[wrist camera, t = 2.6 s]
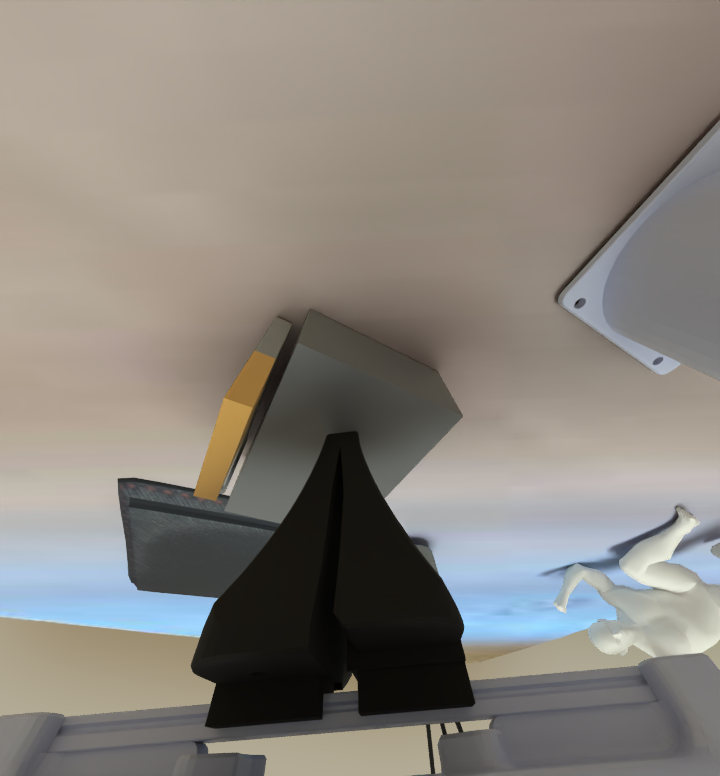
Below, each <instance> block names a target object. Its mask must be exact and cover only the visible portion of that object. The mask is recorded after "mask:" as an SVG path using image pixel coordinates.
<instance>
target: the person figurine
mask: <svg viewBox="0 0 720 776" xmlns="http://www.w3.org/2000/svg"><path fill="white" fill-rule="evenodd" d="M676 510H677V512H678V515H679V517H678V519H676V520H675V522H674V524H673V525H672V526H671V527H669V528H668V529H667V530H665V531H664V532H662V533H660V534H657V535H655V536H652V537H649V538H646V539H644V540H642V541H640V542H639V543H637V544H636V545H635V546H634V547H633V548H632V549H631V550H630V551H629V552H628V553H627V554H626V555H625V556H623V557H622V558H621V559H620V560H619V566H620V568H621V569H622V570H623V571H624V572H625V573H626V574H627V575H628V576H630V577H632V578H633V579H635V580H636V581H638V582H640V583H641V584H645V585H648V586H650V587H652V588H654V589H633V588H630V587H627V586H624V585H615V584H614V583H613V582H612V581H611V580H610V579H609V578H608V577H607V576H606V575H605V574H604V573H603V572H601V571H599V570H597V569H592V568H587V567H584V566H582V565H580V564H578V563H575V564H573V565H571V566H569V567H568V568H567V570H566V573H565V575H564V580H563V585H562V588H561V590H560V593H559V595H558V596H557V598H556V599H555V601H554V602H553V604H554V605H555V606H556V607H557V609H558V610H559V611H561V612H563V611H564V612H565V613H566V610H567V609H566V604H567V603H568V597H569V595H570V594H571V592H572V591H573V589H574V588H575V587H576V585H577V584H578V583H579V582H580V581H581V580H582V579H583V580H584V581H585V582H587V583H588V584H590V585H591V586H592V587H594V588H595V589H597V591H598V593H599V594H600V596H601V597H602V598H603V600H605V601H606V602H607V603H608V604H610V605H611V606H614V607H615V608H616V613H617V620H618V621H616V620H606V619H598V620H597V621H598V622H596V623H593V624H592V625H591V626H590V627H589V631H588V635H589V637H590V639H591V641H592V643H593V645H595V646H596V647H597V648H598V649H599V650H600V651H602V652H603V653H606V654H610V655H614V654H618V653H620V655H621V656H623V655H625V654H626V653H627V651H628V649H627V648H628V647H629V646H631V645H634V646H636V647H638V648H639V649H641V650H643V651H644V652H646V653H648V654H649V655H651V656H652V657H654V658H655V657H662V656H672V655H683V654H695V653H702V652H704V651H705V650H707V649H708V648H710V647H712V646H713V645H715V644H716V643H717V642H718V641H719V639H720V585H718V584H707V583H705V582H703V581H702V580H701V579H700V577H699V576H698V575H697V573H695V572H693V571H691V570H690V569H688V568H686V567H684V566H682V565H680V564H674V563H668V562H665V560H669V559H671V556H672V554H673V551H674V550H675V548H676V547H677V545H678V544H679V542H680V541H681V539H682V538H683V536H684V535H685V534H686V533H690V531H691V530H692V528H694V527H695V526H697V525H699V524H700V522H699V521H698V520H697V519H696V517H694V516H692V515H690V514H689V513H687V512H686V511H685V510H683V509H680V507H677V508H676ZM710 551H711V553H712V554H713V555H714V556H716V557H718V558H720V543H718V544H716V545H714V546H712V548H711V550H710Z"/></svg>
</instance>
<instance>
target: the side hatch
mask: <svg viewBox="0 0 720 776" xmlns="http://www.w3.org/2000/svg"><path fill="white" fill-rule="evenodd" d="M291 326H292V324H291V323H289V322H287V321H285V320H283V319H280V318H278V317H276V318H275V320H274V321H273V323H272V325H271V326H270V328H269V329H268V331H267V332H266V334H265V335H264V337H263V338H262V340H261V341H260V343H259V345H258V346H257V348H256V349H255V351H254V352H253V354H252V355H251V357H250V358H249V360H248V362H247V363H246V365H245V366H244V368H243V369H242V371H241V372H240V374H239V375H238V377H237V378H236V380H235V382H234V383H233V385H232V386H231V388H230V389H229V391H228V392H227V394H226V395H225V397H224V399H223V402H222V406H221V409H220V412H219V415H218V418H217V421H216V425H215V428H214V431H213V434H212V437H211V441H210V444H209V447H208V450H207V453H206V457H205V460H204V463H203V466H202V469H201V473H200V476H199V479H198V482H197V485H196V488H195V492H194V495H193V496H196V497H200V498H205V499H209V500H213V501H216V500H217V497H218V495H219V494H222V493H224V492H225V491H226V489H227V486H228V484H229V482H230V479H231V477H232V475H233V472H234V470H235V468H236V465H237V463H238V461H239V458H240V456H241V454H242V451H243V449H244V447H245V444H246V442H247V438H246V436H247V433H248V431H249V428H250V426H251V424H252V421H253V419H254V416H255V414H256V411H257V409H258V406H259V404H260V402H261V399H262V397H263V394H264V392H265V389H266V387H267V384H268V382H269V380H270V377H271V375H272V372H273V370H274V367H275V365H276V362H277V360H278V358H279V355H280V353H281V350H282V348H283V345H284V343H285V340H286V338H287V336H288V333H289V331H290V328H291Z"/></svg>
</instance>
